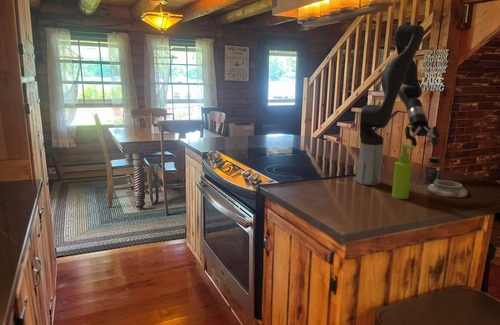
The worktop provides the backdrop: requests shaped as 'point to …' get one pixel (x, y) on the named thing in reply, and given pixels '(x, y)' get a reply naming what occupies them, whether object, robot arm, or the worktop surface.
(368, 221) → the worktop surface
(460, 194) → the collar plate
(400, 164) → the soap dispenser
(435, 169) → the supplement bottle
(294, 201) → the worktop surface
